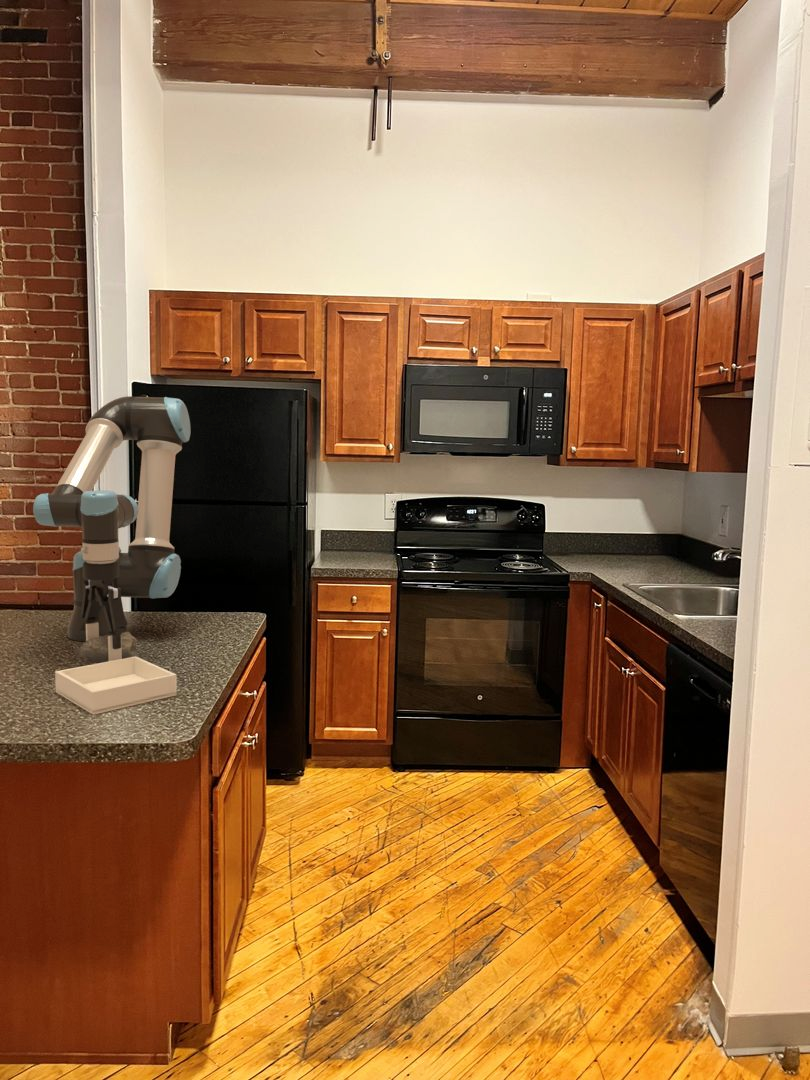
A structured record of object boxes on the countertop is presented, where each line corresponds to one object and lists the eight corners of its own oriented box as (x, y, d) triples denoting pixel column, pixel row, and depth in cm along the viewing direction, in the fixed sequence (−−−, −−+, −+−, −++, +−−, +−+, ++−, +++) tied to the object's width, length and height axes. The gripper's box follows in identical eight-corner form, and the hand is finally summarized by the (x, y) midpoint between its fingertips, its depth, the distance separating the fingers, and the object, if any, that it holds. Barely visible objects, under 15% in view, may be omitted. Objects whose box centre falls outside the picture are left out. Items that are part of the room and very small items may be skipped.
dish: (55, 692, 160) (55, 671, 160) (136, 675, 173) (135, 656, 172) (93, 714, 148) (92, 692, 148) (176, 695, 161) (176, 674, 160)
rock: (73, 666, 171) (72, 637, 170) (79, 655, 179) (78, 628, 178) (137, 663, 174) (137, 635, 173) (140, 653, 182) (140, 626, 182)
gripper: (62, 554, 178) (66, 648, 181) (108, 570, 162) (111, 672, 165) (94, 551, 183) (97, 642, 187) (141, 566, 167) (144, 665, 171)
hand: (103, 656), depth 176 cm, fingers closed on rock, 11 cm apart
